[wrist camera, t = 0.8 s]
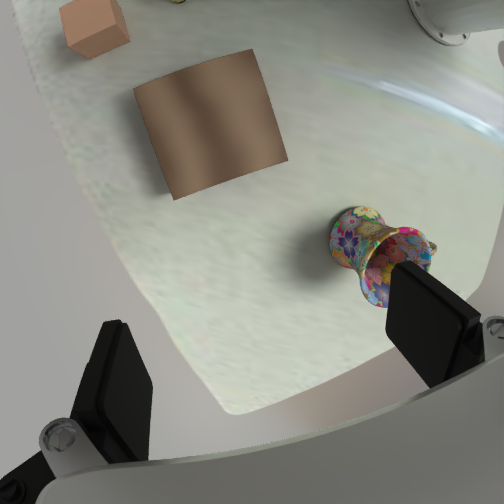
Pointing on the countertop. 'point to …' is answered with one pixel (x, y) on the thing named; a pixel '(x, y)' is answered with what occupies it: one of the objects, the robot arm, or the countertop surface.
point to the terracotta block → (93, 26)
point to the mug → (376, 250)
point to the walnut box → (211, 123)
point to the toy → (178, 1)
